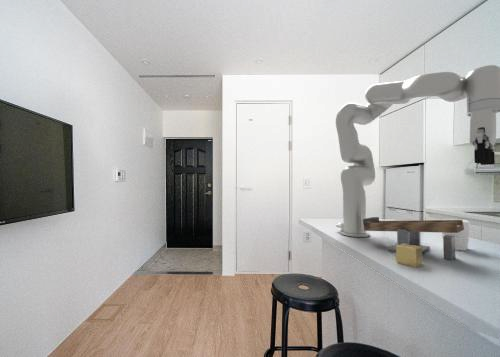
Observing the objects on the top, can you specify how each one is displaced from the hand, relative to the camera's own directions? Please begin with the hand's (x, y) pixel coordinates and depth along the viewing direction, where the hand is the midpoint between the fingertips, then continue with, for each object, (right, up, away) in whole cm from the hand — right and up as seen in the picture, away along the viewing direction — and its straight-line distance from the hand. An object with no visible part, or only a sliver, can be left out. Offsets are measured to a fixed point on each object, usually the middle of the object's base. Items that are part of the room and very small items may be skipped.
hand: (484, 163), depth 72 cm
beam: (-16, -23, +10) cm, 30 cm away
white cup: (+3, -30, +14) cm, 33 cm away
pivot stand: (-16, -30, +10) cm, 35 cm away
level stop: (-10, -30, +2) cm, 31 cm away
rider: (-25, -30, -3) cm, 39 cm away
